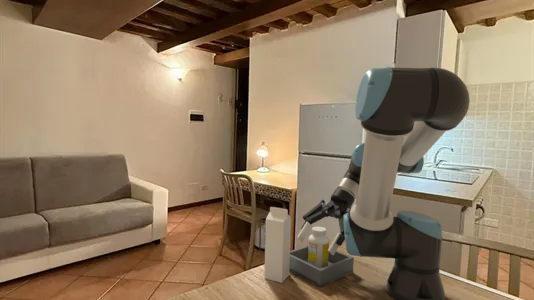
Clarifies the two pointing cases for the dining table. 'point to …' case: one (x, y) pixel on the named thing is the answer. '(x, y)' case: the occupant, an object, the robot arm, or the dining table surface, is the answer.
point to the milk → (277, 244)
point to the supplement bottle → (318, 247)
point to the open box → (336, 268)
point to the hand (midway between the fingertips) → (314, 246)
